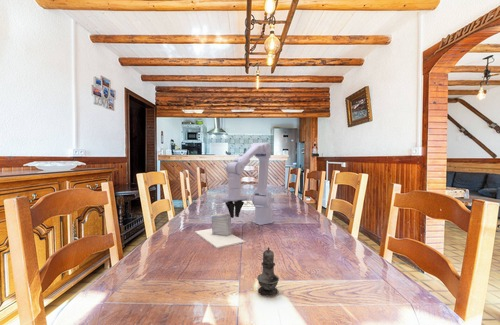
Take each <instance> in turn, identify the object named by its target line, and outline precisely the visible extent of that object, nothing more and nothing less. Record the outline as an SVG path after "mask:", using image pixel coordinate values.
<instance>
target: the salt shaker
mask: <svg viewBox="0 0 500 325" xmlns="http://www.w3.org/2000/svg"><path fill="white" fill-rule="evenodd" d="M274 257H275V256H274V251H272V250H270V247H267V248H266V250H264V251H263V253H262V262H261V266H262V272H261V273H259V274H258V276H257V278H256V279H257V281H258V284H259V288H257V289H258V290H257V292H258V294H260V296H263V297H267V298H268V297H269V298H271V297H275V296H276V295H277V294H278V292H279V290H278V288H277V285H278V283H279V281H280V277H279V276H278V275H277V274H276V273H275V268H274V267H275V266H276V263H275V261H274V259H275V258H274Z"/></svg>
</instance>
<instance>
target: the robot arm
mask: <svg viewBox="0 0 500 325" xmlns="http://www.w3.org/2000/svg"><path fill="white" fill-rule="evenodd" d="M271 155H272V146H271V144H270V143H269V142H268V141H266V142H252V143H251V144H250V145H249V149H247V151H246V152H245V153H240V154H239V156H237V157H236V158H235V159H233V161H230V162H228V163H227V165H226V166H225V172H226V177H227V178H228V183H227V184H228V185H227V186H228V187H227V188H228V190H227V195H228V196H226V197H221V198H219V203H220V204H224V203H225V205H226V207H227V210H228V213H229V214H228V215H231V219H233V218H234V217H235V218H239V217H240V214H241V210H242V207H243V206H244V205H245V201H249V200H250V199H249V196H247V195H241V194H242V193H241V192H242V191H241V189H242V175H243V173H244V170H245V168H246V166H247V165H248V164H250V162H251V158H253V157H255V158H256V159H258V160H259V164H258V176H257V188H256V189H255V190H253V194H252V197H251V203H252V205H253V207H254V220H252V221H251V222H252V223H254V224H256V225H259V226H263V225H267V224H269V225H270V224H274V220H273V219H274V218H273V217H274V216H273V215H274V214H273V213H274V211H273V207H272V206H271V205H272V202H273V200H272V199H273V198H272V193H271V191H270V190H269V189H268V177H269V163H270V162H269V161H270V159H271Z"/></svg>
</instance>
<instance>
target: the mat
mask: <svg viewBox="0 0 500 325" xmlns="http://www.w3.org/2000/svg"><path fill="white" fill-rule="evenodd" d="M194 233H195V234H196V235H197V236H199V237H200V238H202V239H203V240H204V241H206V242H207V243H208V244H210V245H211V246H213V247H214V248H215V249H222V248H226V247H231V246H235V245H240V244H244V243H246V241H245V240H243V239H242V238H241V237H238V236H236V235H234V234H233V233H232V232H231V233H230V234H229V235H228V236H226V235H217V234H212V228H207V229H202V230H201V229H200V230H195V231H194Z"/></svg>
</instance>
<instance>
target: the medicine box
mask: <svg viewBox="0 0 500 325" xmlns="http://www.w3.org/2000/svg"><path fill="white" fill-rule="evenodd" d="M211 229H212V234H217V235H226V236H228V235H229V234H230V233H231V234H232V218H231V215H230V214H226V213H214V214H212V215H211Z"/></svg>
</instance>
